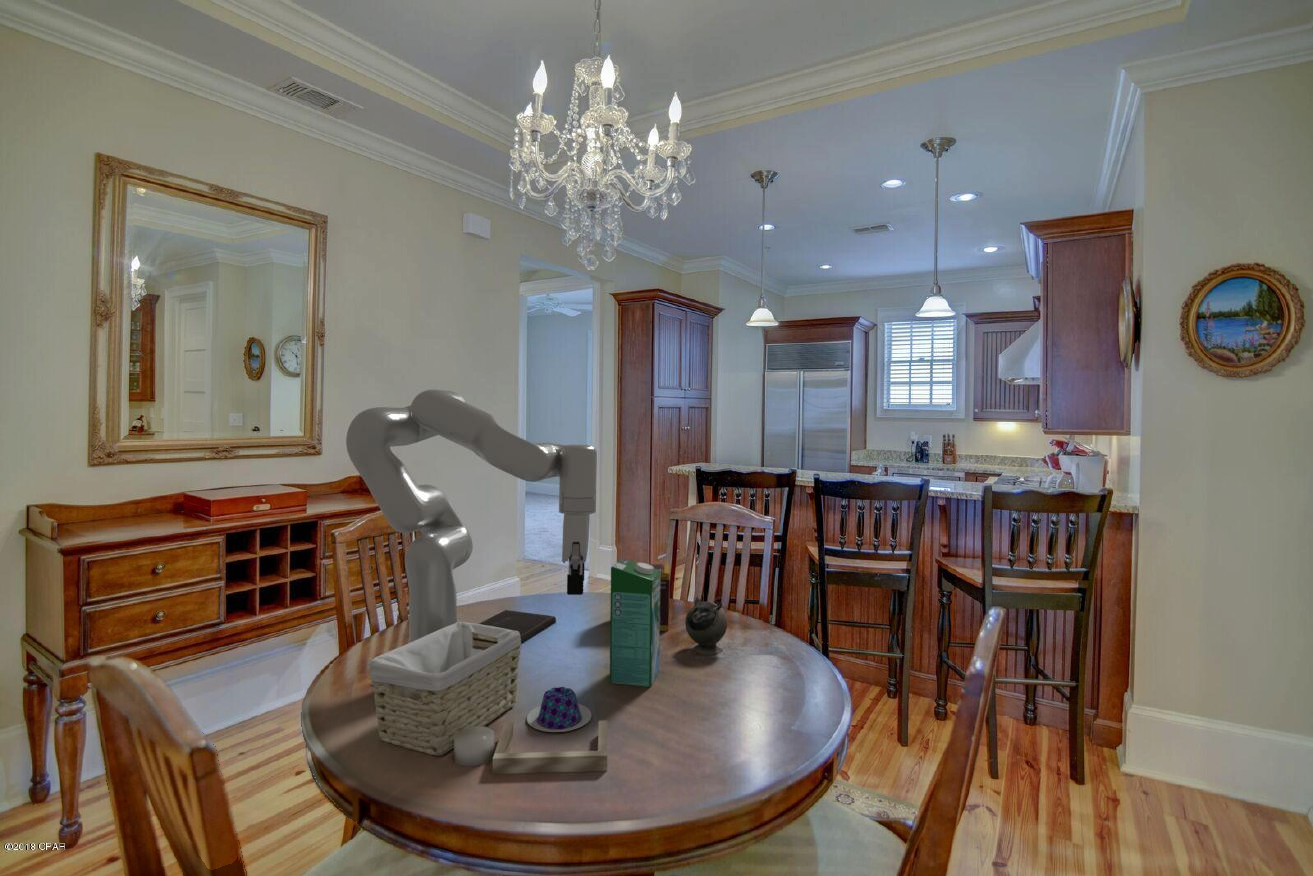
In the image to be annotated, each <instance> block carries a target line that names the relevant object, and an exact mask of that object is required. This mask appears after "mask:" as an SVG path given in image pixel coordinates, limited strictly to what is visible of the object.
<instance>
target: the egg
mask: <svg viewBox="0 0 1313 876" xmlns="http://www.w3.org/2000/svg"><path fill="white" fill-rule="evenodd" d="M453 749H454V750H453V753H454V754H453V759H454V762H455V763H456V764H457V765H459V766H461V767H476V766H477V767H478V766H480V765H484V764H486V763H488V762H489V761H491V760H493V756H494V753H495V731H494V730H493V729H491V728H490V727H487V726H483V727H481V726H478V727H470V728H466V729H464V730H461V731H460V732H458V733H457V734H456V735H455V737H454V748H453Z"/></svg>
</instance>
